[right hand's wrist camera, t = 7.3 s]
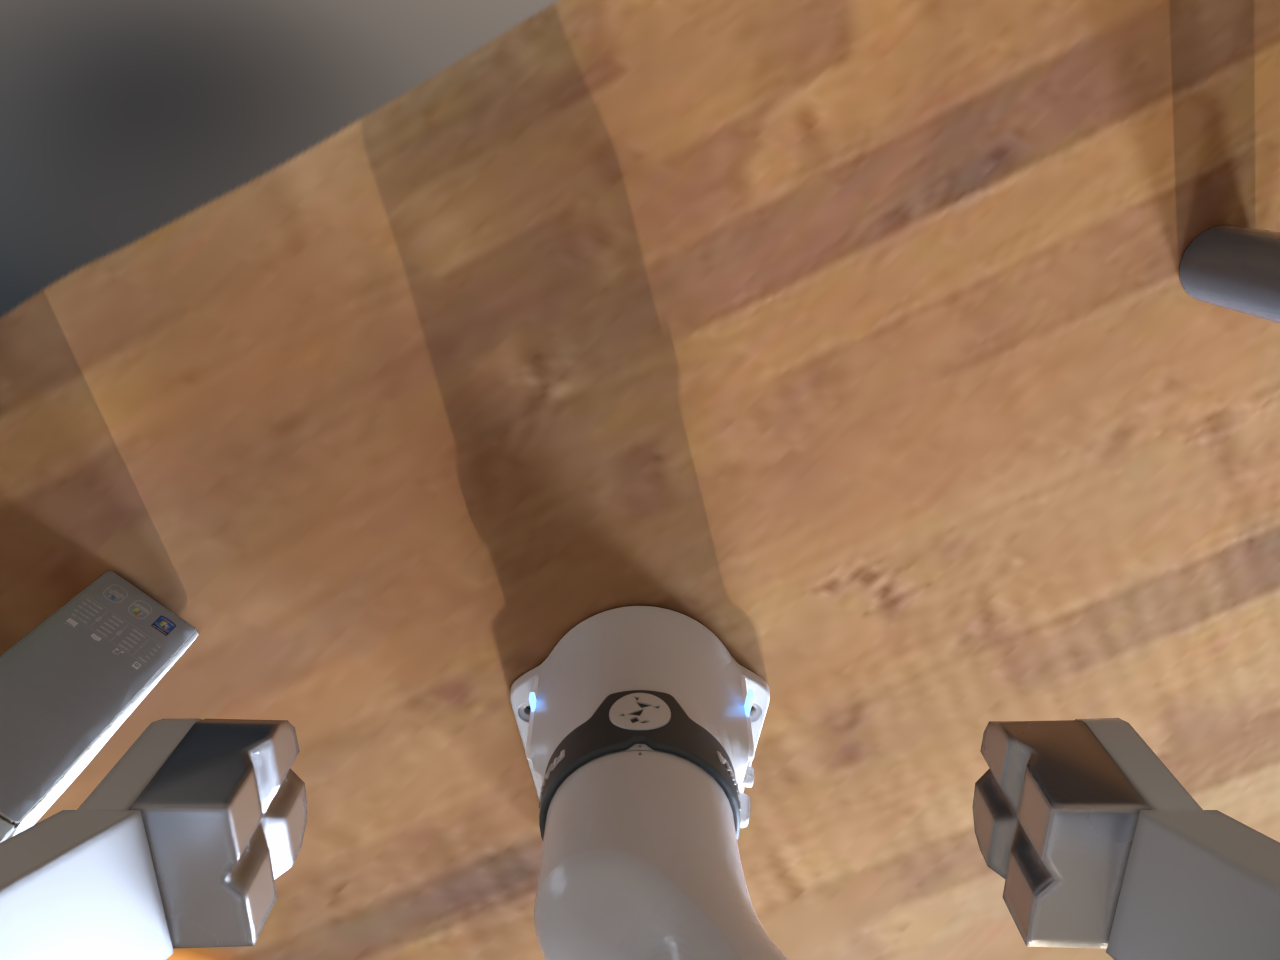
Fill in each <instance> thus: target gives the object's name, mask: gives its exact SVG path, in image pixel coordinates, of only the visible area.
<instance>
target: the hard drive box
mask: <svg viewBox="0 0 1280 960" xmlns="http://www.w3.org/2000/svg"><path fill="white" fill-rule="evenodd" d="M198 635H199V633H197V632H196V628H195V627H193V626H191V625H190V624H189V623H187V622H186V621H184V620H183V619H181V618H180V617H178V616H177V615H175V614H174V613H172V612H171V611H170V610H168V609H167V608H165V607H164V606H162V605H161V604H159V603H158V602H157V601H155V600H154V599H152V598H151V597H149V596H148V595H146V594H145V593H143V592H142V591H140V590H139V589H138V588H136V587H135V586H133V585H132V584H130V583H129V582H128V581H126V580H125V579H123V578H122V577H120V576H119V575H117V574H116V573H114V572H112V571H107V572H106V573H104V574H103V575H102V576H100V577H99V578H98V579H97V580H95V581H94V582H93V583H91V584H90V585H89V586H87V587H86V588H85V589H84V590H82V591H81V592H80V593H78V594H77V595H76V596H75V597H73V598H72V599H71V600H70V601H68V602H67V603H66V604H65V605H64V606H62V607H61V608H60V609H58V610H57V611H56V612H54V613H53V614H52V615H51V616H49V617H48V618H47V619H46V620H44V621H43V622H42V623H41V624H39V625H38V626H37V627H36V628H34V629H33V630H32V631H31V632H29V633H28V634H27V635H26V636H24V637H23V638H22V639H21V640H19V641H18V642H17V643H16V644H14V645H13V646H12V647H11V648H9V649H8V650H7V651H6V652H4V653H3V654H2V655H1V656H0V843H1V842H3V841H5V840H7V839H9V838H11V837H12V836H14V835H16V834H18V833H20V832H22V831H24V830H26V829H28V828H30V827H32V826H33V825H34V824H35V823H36V822H37V821H38V820H39V819H40V818H41V816H42V815H43V814H44V813H45V812H46V811H47V810H48V809H49V808H50V806H51V805H52V804H53V803H54V802H55V801H56V800H57V799H58V798H59V797H60V795H61V794H62V793H63V792H64V791H65V790H66V789H67V788H68V787H69V785H70V784H71V783H72V782H73V781H74V780H75V779H76V777H77V776H78V775H79V774H80V773H81V772H82V771H83V770H84V768H85V767H86V766H87V765H88V764H89V763H90V761H91V760H92V759H93V758H94V757H95V755H96V754H97V753H98V752H99V751H100V750H101V748H102V747H103V746H104V745H105V743H106V742H107V741H108V740H109V739H110V738H111V736H112V735H113V734H114V733H115V732H116V731H117V729H118V728H119V727H120V726H121V725H122V723H123V722H124V721H125V720H126V719H127V718H128V716H129V715H130V714H131V713H132V712H133V711H134V710H135V708H136V707H137V706H138V705H139V704H140V703H141V701H142V700H143V699H144V698H145V697H146V696H147V694H148V693H149V692H150V691H151V690H152V689H153V688H154V686H155V685H156V684H157V683H158V682H159V681H160V680H161V678H162V677H163V676H164V675H165V674H166V673H167V672H168V670H169V669H170V668H171V667H172V666H173V665H174V663H175V662H176V661H177V660H178V659H179V658H180V657H181V655H182V654H183V653H184V652H185V651H186V650H187V648H188V647H189V646H190V645H191V644H192V642H193V641H194V640H195V639H196V637H197V636H198Z"/></svg>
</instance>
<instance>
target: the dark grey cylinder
mask: <svg viewBox="0 0 1280 960" xmlns="http://www.w3.org/2000/svg"><path fill="white" fill-rule="evenodd" d="M1179 276H1180V281H1181V284H1182V286H1183V288H1184V290H1185V291H1186V292H1187V293H1188V294H1189V295H1190V296H1191V297H1192V298H1194V299H1196V300H1199V301H1202V302H1205V303H1209V304H1212V305H1216V306H1220V307H1223V308H1227V309H1230V310H1234V311H1237V312H1241V313H1244V314H1248V315H1251V316H1255V317H1258V318H1262V319H1266V320H1269V321H1273V322H1276V323H1280V232H1273V231H1266V230H1259V229H1252V228H1244V227H1237V226H1230V225H1223V226H1217V227H1214V228H1211V229H1209V230H1207V231H1205V232H1203V233H1202V234H1200V235H1199V236H1197V237H1196V238H1195V239H1194V240H1193V241H1192V242H1191V243H1190V245H1189V246H1188V247H1187V249H1186V250H1185V252H1184V254H1183V257H1182V259H1181V263H1180V269H1179Z"/></svg>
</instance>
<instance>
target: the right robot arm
mask: <svg viewBox="0 0 1280 960" xmlns="http://www.w3.org/2000/svg"><path fill="white" fill-rule="evenodd" d="M510 701H511V705H512V708H513V712H514V715H515V718H516V722H517V725H518V729H519V732H520V736H521V739H522V743H523V746H524V749H525V753H526V758H527V760H528V763H529V767H530V770H531V774H532V777H533V780H534V784H535V787H536V791H537V794H538V798H539V808H541V809H540V831H541V837H542V840H543V847H542V854H541V861H540V868H539V876H538V883H537V891H536V898H535V905H534V925H535V932H536V937H537V940H538V944H539V947H540V950H541V952H542V954H543V956H544V958H545V960H789V959H788V958H787V957H786V956H785V955H784V954H783V952H782V951H781V950H780V949H779V948H778V947H777V945H776V944H775V943H774V941H773V940H772V939H771V938H770V936H769V935H768V933H767V932H766V930H765V929H764V927H763V926H762V924H761V923H760V921H759V919H758V917H757V915H756V913H755V911H754V909H753V906H752V904H751V900H750V897H749V893H748V890H747V886H746V882H745V878H744V874H743V870H742V865H741V860H740V855H739V850H738V845H737V840H738V837H739V831H740V828H744V827H747V825H748V822H749V817H750V797H749V795H747V794H744V793H743V791H744V787H752V785H753V782H754V768H753V767H751V763H752V760H753V758H754V753H755V750H756V746H757V743H758V739H759V736H760V732H761V729H762V725H763V722H764V719H765V715H766V712H767V708H768V705H769V701H770V692H769V686H768V684H767V683H766V682H765V681H764V680H763V679H762V678H761V677H759V676H758V675H756V674H755V673H753V672H752V671H750V670H748V669H746V668H745V667H743V666H741V665H739V664H738V663H737V662H736V661H735V659H734V658H733V657H732V656H731V654H730V653H729V652H728V650H727V649H726V647H725V646H724V645H723V643H722V642H721V641H720V640H719V639H718V638H717V637H716V635H715V634H713V633H712V632H711V631H710V630H709V629H708V628H706V627H705V626H704V625H702V624H701V623H699V622H698V621H696V620H694V619H692V618H690V617H688V616H686V615H684V614H681V613H679V612H676V611H673V610H669V609H665V608H660V607H653V606H627V607H620V608H615V609H611V610H607V611H604V612H601V613H599V614H596V615H594V616H592V617H590V618H588V619H586V620H584V621H582V622H581V623H579V624H578V625H576V626H575V627H574V628H572V629H571V630H570V631H569V632H568V633H567V634H566V635H565V636H564V637H563V638H562V639H561V640H560V641H559V642H558V643H557V645H556V646H555V647H554V649H553V650H552V652H551V653H550V654H549V656H548V657H547V658H546V659H545V661H544V662H543V663H542V664H541V665H539V666H537V667H535V668H534V669H532V670H530V671H528V672H527V673H525V674H524V675H522V676H521V677H519V678H518V679H517V680H516V681H515V682H514V683H513V684H512V686H511V693H510ZM527 706H530V707H531V710H529V709H527V708H526V707H527ZM751 706H753V707H754V708H753V709H751ZM298 753H299V746H298V741H297V736H296V731H295V727H294V726H293V725H292V724H291V723H290V722H289V721H287V720H242V719H204V720H202V719H161V720H158V721H155V722H152V723H151V724H150V725H149V726H148V727H147V728H146V730H145V731H144V732H143V733H142V734H141V736H140V737H139V738H138V739H137V740H136V741H135V743H134V744H133V745H132V746H131V747H130V748H129V750H128V751H127V752H126V753H125V754H124V755H123V757H122V758H121V759H120V760H119V761H118V763H117V764H116V765H115V766H114V767H113V768H112V770H111V771H110V772H109V773H108V774H107V775H106V777H105V778H104V779H103V780H102V781H101V782H100V784H99V785H98V786H97V787H96V788H95V789H94V791H93V792H92V793H91V794H90V795H89V797H88V798H87V799H86V800H85V801H84V802H83V804H82V805H81V806H80V807H79V808H78V809H77V810H63V811H61V812H59V813H57V814H55V815H53V816H51V817H49V818H47V819H45V820H43V821H41V822H39V823H37V824H36V825H34V826H32V827H30V828H28V829H26V830H24V831H22V832H20V833H18V834H16V835H14V836H12V837H11V838H9V839H7V840H5V841H3V842H1V843H0V960H166V959H167V958H168V957H169V956H171V955H172V954H173V952H174V951H173V948H204V947H238V946H254V944H255V942H256V940H257V938H258V936H259V934H260V932H261V930H262V928H263V926H264V924H265V922H266V920H267V918H268V915H269V913H270V911H271V909H272V907H273V905H274V903H275V901H276V899H277V892H276V886H275V880H274V879H276V878H277V877H278V876H280V875H281V874H282V873H284V872H285V871H287V870H288V869H289V868H291V867H292V866H293V864H294V861H295V859H296V857H297V855H298V852H299V850H300V848H301V845H302V840H303V836H304V831H305V827H306V822H307V797H306V790H305V783H304V782H303V781H302V780H301V779H300V778H299V777H298V776H297V775H296V774H295V773H294V772H293V771H292V770H291V769H290V768H291V766H292V764H293V762H294V760H295V758H296V757H297V755H298ZM981 753H982V755H983V757H984V758H985V760H986V762H987V764H988V766H989V768H990V769H989V770H988V771H987V772H986V773H985V774H984V775H983V776H982V777H981V778H980V779H979V780H978V781H977V782H976V783H975V791H974V800H973V817H974V828H975V834H976V837H977V841H978V844H979V848H980V851H981V853H982V855H983V857H984V859H985V861H986V864H987V866H988V867H989V868H991V869H992V870H993V871H995V872H996V873H998V874H999V875H1000V876H1002V877H1003V878H1004V879H1006V880H1005V886H1004V892H1003V899H1004V901H1005V903H1006V905H1007V907H1008V909H1009V911H1010V913H1011V915H1012V917H1013V919H1014V922H1015V924H1016V926H1017V928H1018V930H1019V932H1020V934H1021V936H1022V938H1023V940H1024V942H1025V944H1026V946H1040V947H1075V948H1107V950H1106V953H1108V954H1109V955H1110V956H1111V957H1112V958H1113V959H1115V960H1280V843H1279V842H1277V841H1275V840H1273V839H1271V838H1269V837H1267V836H1266V835H1264V834H1262V833H1260V832H1258V831H1256V830H1254V829H1252V828H1250V827H1248V826H1246V825H1244V824H1242V823H1241V822H1239V821H1237V820H1235V819H1233V818H1231V817H1229V816H1227V815H1225V814H1223V813H1221V812H1219V811H1217V810H1203V809H1202V808H1201V807H1200V806H1199V805H1198V804H1197V802H1196V801H1195V800H1194V799H1193V798H1192V797H1191V795H1190V794H1189V793H1188V792H1187V791H1186V790H1185V788H1184V787H1183V786H1182V785H1181V784H1180V783H1179V781H1178V780H1177V779H1176V778H1175V777H1174V775H1173V774H1172V773H1171V772H1170V771H1169V770H1168V768H1167V767H1166V766H1165V765H1164V764H1163V763H1162V761H1161V760H1160V759H1159V758H1158V757H1157V756H1156V754H1155V753H1154V752H1153V751H1152V750H1151V749H1150V747H1149V746H1148V745H1147V744H1146V743H1145V742H1144V740H1143V739H1142V738H1141V737H1140V736H1139V734H1138V733H1137V732H1136V731H1135V730H1134V729H1133V727H1132V726H1131V725H1130V724H1129V723H1128V722H1126V721H1123V720H1121V719H1119V718H1103V719H1075V720H1071V721H991V722H989V723H988V725H987V727H986V729H985V731H984V734H983V740H982V745H981Z"/></svg>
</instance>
